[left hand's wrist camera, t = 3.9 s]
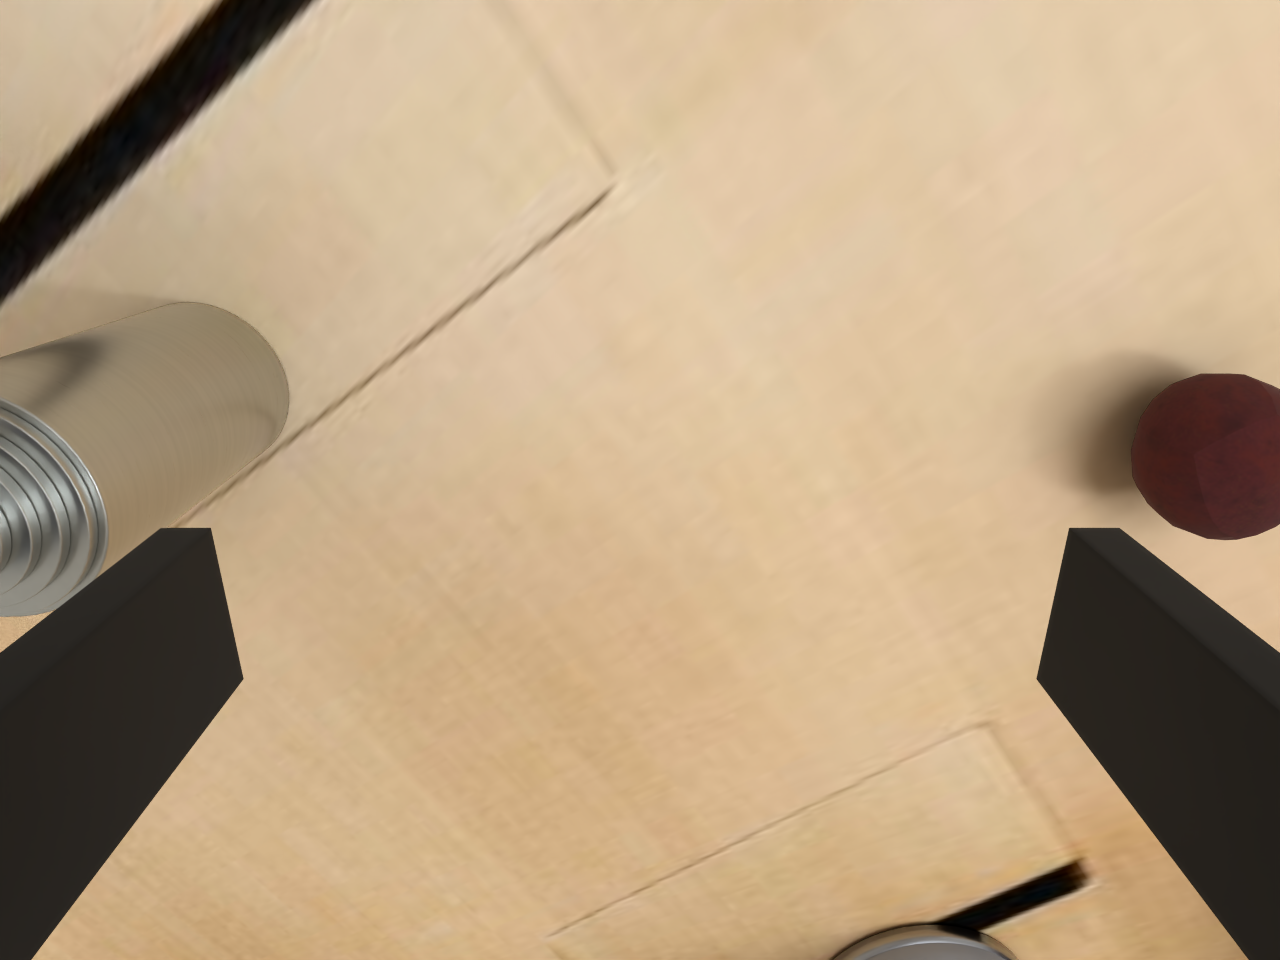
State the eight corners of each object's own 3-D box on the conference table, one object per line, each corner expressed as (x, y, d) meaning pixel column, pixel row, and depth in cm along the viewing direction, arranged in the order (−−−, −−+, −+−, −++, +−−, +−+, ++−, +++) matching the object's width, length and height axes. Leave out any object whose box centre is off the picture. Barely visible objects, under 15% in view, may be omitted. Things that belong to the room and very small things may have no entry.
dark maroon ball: (1133, 525, 43) (1222, 592, 36) (1076, 407, 40) (1160, 456, 34) (1271, 452, 41) (1390, 508, 35) (1220, 325, 39) (1338, 360, 32)
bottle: (128, 277, 38) (-325, 387, 20) (303, 335, 39) (19, 487, 21) (111, 435, 41) (-299, 652, 23) (274, 484, 42) (2, 729, 24)
